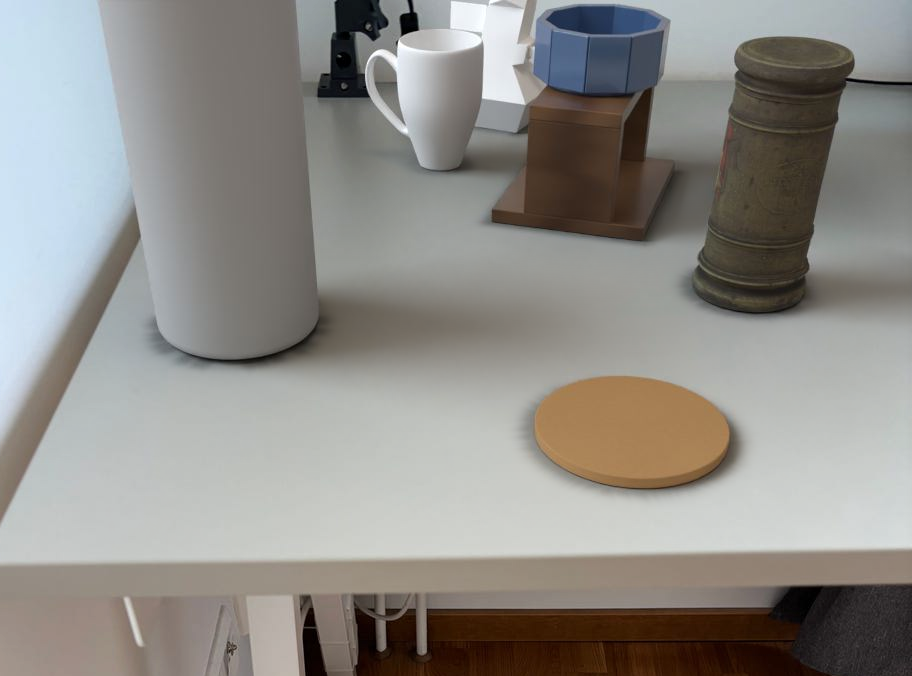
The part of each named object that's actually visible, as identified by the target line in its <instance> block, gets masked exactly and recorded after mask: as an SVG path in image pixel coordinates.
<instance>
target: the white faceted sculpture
mask: <svg viewBox="0 0 912 676" xmlns="http://www.w3.org/2000/svg"><path fill="white" fill-rule="evenodd" d="M537 3H538V0H489V2H488V3H487V4H488V5H487V4H481V3H473V2H464V1H457V0H450V21H449V22H450V26H449V29H451V30H460V31H466V32H474V33H481V36H480V38H481V39H482V40H483V44H484V64H483V92H482V101H481V106H480V111H479V114H478V117H477V121H476V124H475V126H474V127H476V128H483V129H487V130H494V131H501V132H506V133H507V132H508V133H515V134H517V133H519V132H520V131H521V130H522V129H524V128H525V127H526V126H527V125H529V110H530V104H531V103H532V102H533V101H534V100H535V98H536V97H537V96H538V95H539V94H540V92H541V91H542V90H543V89H544V88H545V86H546V85H547V84H545V83H544V82H543V81H541V80H540V79H539V78H537V77H536V76H535V75H533V67H534V63H532V62H531V61H530V60H531V59H533V60H534V50H535V38H534V37H532V36H531V32H532V28H533V23H534V18H535V14H536V11H537V10H536V9H537Z"/></svg>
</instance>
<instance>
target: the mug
mask: <svg viewBox="0 0 912 676" xmlns="http://www.w3.org/2000/svg"><path fill="white" fill-rule="evenodd" d="M396 52H397V54H396V55H397V56H396V55H395V54H394V53H392V52H391V51H389V50H387V49H377V50H376V51H374V52H373V53H372V54H371V55H370V56H369V57H368V60H367V63H366V64H365V65H366V66H365V70H364V71H365V72H364V76H365V77H364V79H365V86H366V90H367V93H368V96H369V97H370V99H371V101H372V102H373V104H374V105H375V107H376V108H377V109H378V110H379V111H380V112H381V114H382V115H383V116H384V117H385V118H386V119H387V121H388V122H389V123H391V124H392V126H393V127H394V128H395V129H396V130H397V131H399V133H401V134H402V135H404V136H405V137H407V138H408V139H410V141H411V144H412V147H413V149H414V153H415V155H416V158H417V162H418V163H419V165H420V166H421V167H422V168H424V169H427V170H432V171H450V170H454V169H457V168H458V167H460V166H461V164H462V162H463V159H464V157H465V153H466V151H467V149H468V146H469V143H470V140H471V137H472V134H473V132H474V130H475V127H476V126H475V124H476V121H477V117H478V114H479V111H480V106H481V101H482V92H483V64H484V44H483V40H482V39H481V36H479V35H478V34H476V33H473V32H471V31H466V30H458V29H451V28H449V29H448V28H432V29H430V28H429V29H421V30H417V31H412V32H408V33H406V34H403V35H402V36H401V37H399V39H398V42H397V51H396ZM378 58H382V59H384V60H385V61H386V62H387V63H388V64H390V66H391V67H392V69H393V70H394V72H395V73H396V85H397V86H396V87H397V95H398V103H399V107H400V111H401V115H402V118H403V122H402V120H401V119H400V118H399V117H398V115H396V114H395V113H394V112H393V110H392V109H391V108H390V107H389V106H388V104H386V103H385V101H384V100H383V98H382V97H381V95H380V93H379V92H378V89H377V86H376V82H375V76H374V75H375V73H374V69H375V68H374V67H375V63H376V61H377V59H378Z"/></svg>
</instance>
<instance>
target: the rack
mask: <svg viewBox="0 0 912 676" xmlns="http://www.w3.org/2000/svg"><path fill="white" fill-rule="evenodd" d="M655 88H656V86H654V87H650V88H648V89H646V90H644V91H641V92H638V93H634V94H628V95H620V96H587V95H579V94H573V93H568V92H564V91H560V90H557V89H555V88H552V87H550V86H549V85H546V86H545V88H544V89H543V90H542V91H541V92H540V94H539V95H538V96H537V97H536V98H535V100H534V101H533V102H532V103H531V104H530V110H529V124H528V129H527V130H528V131H527V143H526V144H527V147H526V161H525V165H523V167H522V168H521V170H519V172H518V173H517V175H516V176H515V178H514V179H513V180H512V182H511V183H510V184H509V185H508V187H507V189H506V190H505V191H504V192H503V194H502V195H501V196H500V198H499V199H498V200H497V202H496V203H495V204H494V206H493V207H492V209H491V222H492V223H498V224H499V223H501V224H509V225H515V226H523V227H531V228H540V229H546V230H554V231H561V232H569V233H578V234H584V235H585V234H586V235H594V236H600V237H608V238H614V239H615V238H617V239H623V240H631V241H639V242H642V241H643V239H644V237H645V235H646V232H647V230H648V228H649V226H650V225H651V222H652V220H653V217H654V216H655V213H656V210H657V209H658V207H659V205H660V202H661V201H662V199H663V196H664V194H665V192H666V190H667V188H668V185H669V183H670V181H671V179H672V177H673V174H674V172H675V166H676V160H675V159H669V158H658V157H649V156H647V150H648V144H649V143H648V142H649V134H650V126H651V121H652V120H651V119H652V110H653V104H654V95H655Z"/></svg>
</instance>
